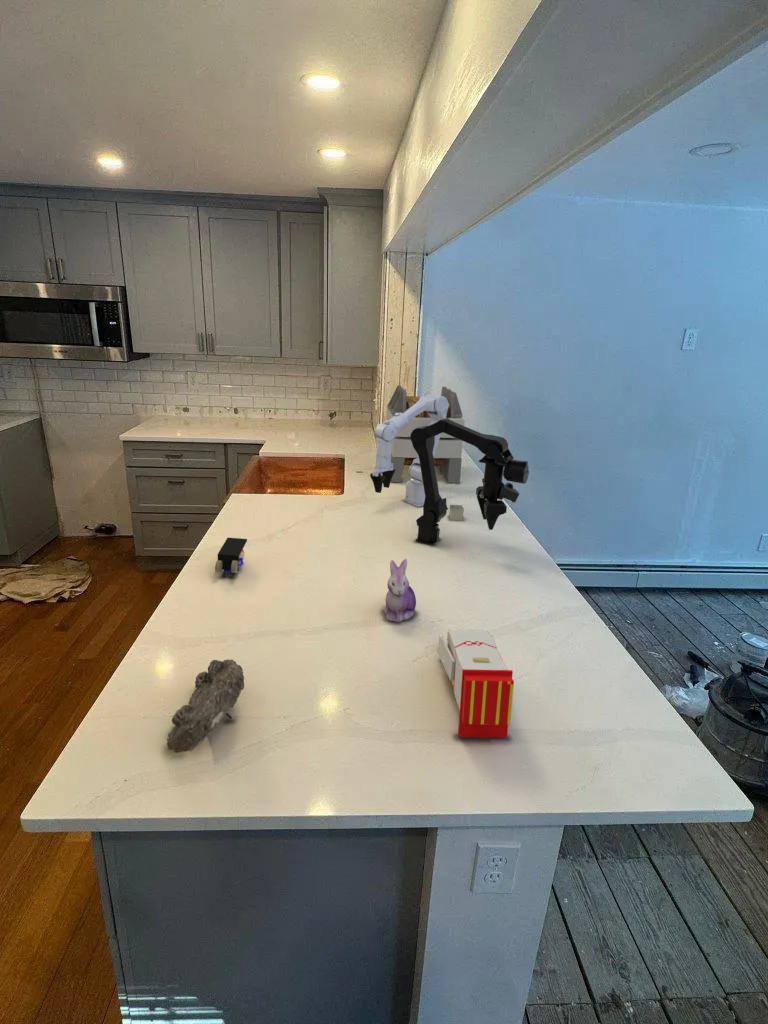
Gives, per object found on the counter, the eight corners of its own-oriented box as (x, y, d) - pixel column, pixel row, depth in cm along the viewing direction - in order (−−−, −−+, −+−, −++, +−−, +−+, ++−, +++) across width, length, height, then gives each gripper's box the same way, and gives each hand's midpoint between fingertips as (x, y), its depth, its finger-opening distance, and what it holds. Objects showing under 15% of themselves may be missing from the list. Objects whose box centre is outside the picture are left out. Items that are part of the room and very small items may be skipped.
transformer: (382, 463, 289) (386, 382, 275) (445, 464, 293) (451, 384, 279) (390, 482, 257) (394, 392, 243) (460, 483, 261) (468, 394, 247)
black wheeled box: (238, 584, 162) (249, 557, 175) (236, 562, 158) (247, 536, 172) (215, 584, 161) (227, 556, 175) (212, 561, 158) (225, 535, 171)
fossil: (192, 660, 117) (244, 628, 112) (224, 691, 120) (276, 661, 115) (142, 746, 98) (202, 712, 93) (182, 779, 101) (242, 748, 96)
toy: (488, 613, 130) (523, 677, 101) (484, 667, 133) (517, 744, 104) (435, 612, 130) (455, 676, 101) (432, 666, 133) (451, 743, 103)
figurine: (392, 627, 141) (395, 572, 136) (374, 608, 149) (376, 556, 144) (425, 619, 145) (429, 566, 140) (405, 601, 154) (408, 550, 149)
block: (450, 520, 215) (451, 508, 214) (448, 516, 219) (450, 504, 218) (462, 520, 215) (463, 508, 214) (460, 516, 219) (462, 505, 218)
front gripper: (526, 487, 169) (519, 536, 174) (511, 470, 186) (505, 515, 192) (489, 486, 168) (483, 535, 174) (477, 469, 186) (473, 514, 191)
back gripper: (385, 461, 207) (383, 496, 212) (400, 453, 220) (399, 486, 224) (368, 458, 210) (366, 493, 215) (384, 450, 222) (382, 483, 227)
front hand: (487, 524), depth 182 cm, fingers open, 9 cm apart
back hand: (382, 489), depth 220 cm, fingers open, 7 cm apart
